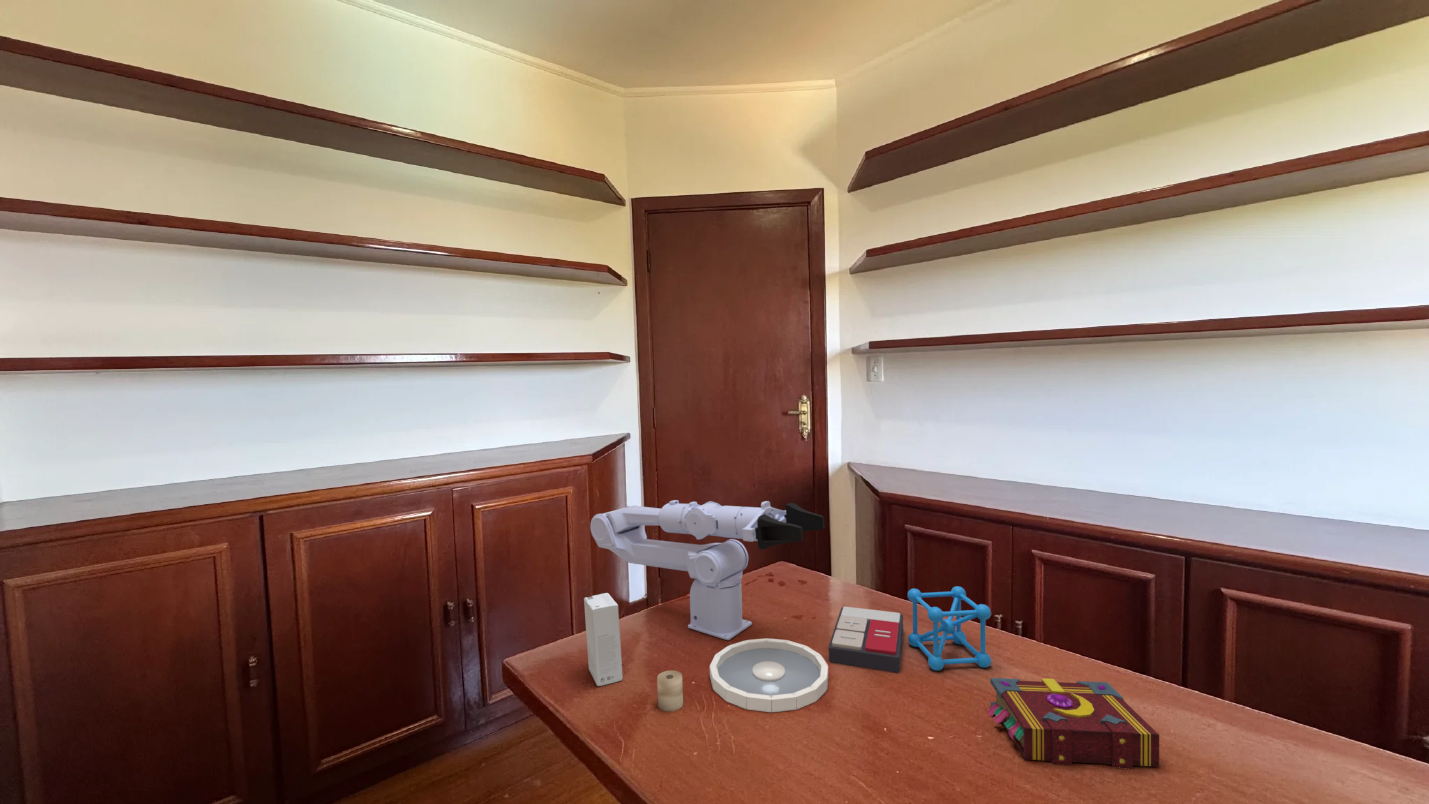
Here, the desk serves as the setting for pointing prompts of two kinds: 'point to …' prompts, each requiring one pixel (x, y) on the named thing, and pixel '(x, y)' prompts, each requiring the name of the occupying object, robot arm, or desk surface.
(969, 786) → the desk surface
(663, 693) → the wooden bead
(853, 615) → the calculator
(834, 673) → the desk surface
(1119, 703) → the decorative book
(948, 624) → the molecular structure
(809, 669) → the ring tray
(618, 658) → the skincare box
